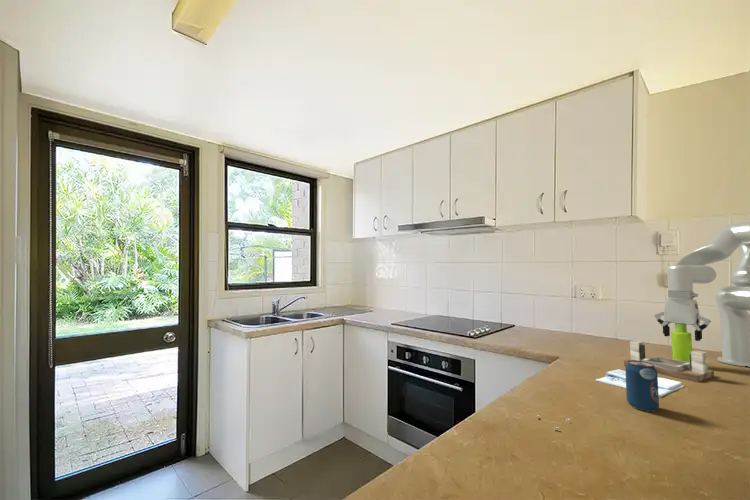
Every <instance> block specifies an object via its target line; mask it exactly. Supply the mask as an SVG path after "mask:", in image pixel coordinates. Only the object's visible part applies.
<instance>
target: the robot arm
mask: <svg viewBox="0 0 750 500" xmlns="http://www.w3.org/2000/svg"><path fill="white" fill-rule="evenodd" d="M737 249H738V250H739V252H740V256H739V259H738V261H737V263H736V264H735V267H734V269H733V271H732V272H731V275H730V282H731V283H732V284H733V285H734V286H733V285H729V286H724V287H723V286H722V287H720V288H718V289H717V290H716V292H715V296H714V298H715V301H716V305H717V308H718V312H719V319H720V335H721V354H722V356H717V359H716V360H717V361H719V363H724V364H728V365H731V366H732V365H733V366H739V367H745V366H748V367H747V368H750V313H749V312H748V311H750V221H747V222H739V223H731V224H726V225H724V226H722V227H721V228H720V229H719V230H718V231H717V232H716V233H715V234H714V235H713V237H712V238H711V239H709V241H708V242H707V243H706V244H705V245H704V246H701V247H699V248H697V249H694V250H693V251H691V252H689V253H687V254H685V255H683V256H682V257H680V258H679V259H678V260H677V261H676V263H675V264H673V265H668V267H667V269H666V273H667V274H666V275H667V276H666V278H667V297H666V299H665V302H664V309H663V311H662V312H659V313H657V314H654V317H655V319H656V321H657V322H658V323H659V324H660V325H661V326H662V334H663V336H664V337H670V336H671V335H670V333H671V332H670V331H671V329H670V326H669V325H670V324H671V323H673V324H675V323H678V324H686V326H687V325H689V326H692V327H693V328H694V329H695V330H694V340H695V341H697V342H700V341H701V340H702V339H703V331H704V330H705V329H706V328H708V326H709V325H710V324H711V322H712V320H711V319H708V318H707V317H705V316H703V315H700V309H699V305H698V301H697V299H695V298H696V297H699V294H698V293H695V291H694V285H693V284H699V285H700V284H710V283H713V282H714V281H715V280H716V278H717V272H716V270H715V269H714V268H712V267H711V266H709V265H710V264H714V263H718V262H721V261H724V260H727V259H729V257H731V255H733V253H734V252H735V251H736V250H737ZM662 317H663V319H664V320H663V319H662ZM701 321H703V323H702V324H701V325H700V323H701Z"/></svg>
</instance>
